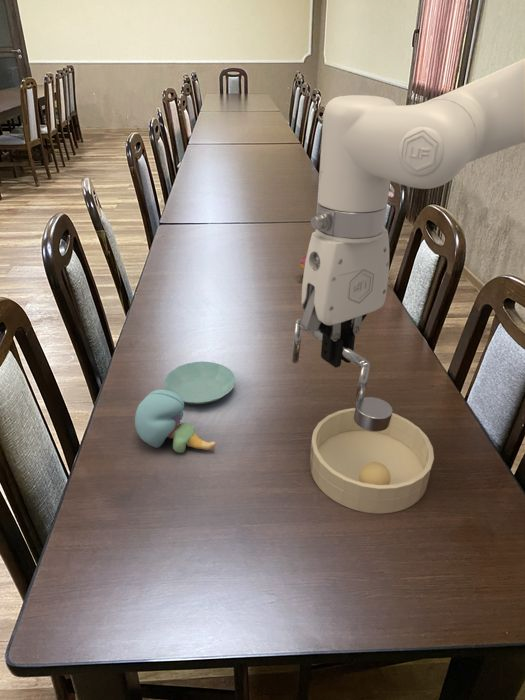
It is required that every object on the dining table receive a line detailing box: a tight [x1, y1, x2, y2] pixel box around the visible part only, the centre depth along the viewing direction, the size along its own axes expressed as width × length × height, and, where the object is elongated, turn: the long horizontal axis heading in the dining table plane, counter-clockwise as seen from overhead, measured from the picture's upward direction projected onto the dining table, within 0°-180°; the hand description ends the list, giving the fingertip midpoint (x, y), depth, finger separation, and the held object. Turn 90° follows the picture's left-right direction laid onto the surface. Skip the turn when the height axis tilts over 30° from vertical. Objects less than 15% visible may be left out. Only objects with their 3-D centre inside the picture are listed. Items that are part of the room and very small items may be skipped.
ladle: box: [291, 318, 394, 431], centre depth 69 cm, size 18×4×7 cm, turn 35°
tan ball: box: [359, 462, 391, 485], centre depth 70 cm, size 4×4×4 cm
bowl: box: [309, 407, 435, 515], centre depth 74 cm, size 16×16×4 cm
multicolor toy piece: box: [134, 388, 216, 454], centre depth 77 cm, size 7×9×12 cm
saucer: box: [163, 361, 236, 405], centre depth 90 cm, size 12×12×2 cm
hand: (336, 359), depth 69 cm, fingers closed on ladle, 1 cm apart
